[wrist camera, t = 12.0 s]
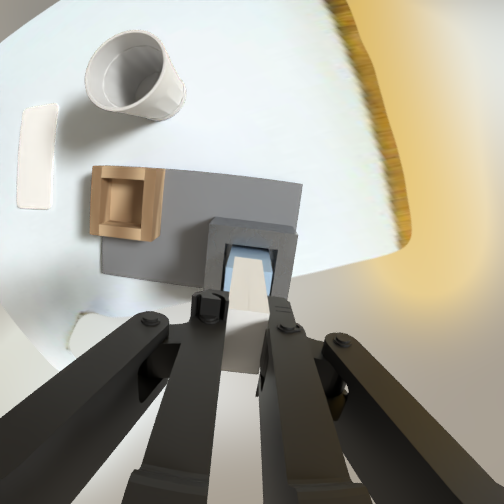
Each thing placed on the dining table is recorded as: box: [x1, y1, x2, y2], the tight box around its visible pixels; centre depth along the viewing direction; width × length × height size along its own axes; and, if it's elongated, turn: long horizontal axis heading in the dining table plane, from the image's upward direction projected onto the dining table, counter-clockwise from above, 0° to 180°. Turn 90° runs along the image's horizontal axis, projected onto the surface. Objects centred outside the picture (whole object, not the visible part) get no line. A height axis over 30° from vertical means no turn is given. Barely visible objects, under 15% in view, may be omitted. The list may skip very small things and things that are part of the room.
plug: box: [224, 244, 273, 296], centre depth 32 cm, size 4×4×10 cm
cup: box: [85, 30, 186, 121], centre depth 27 cm, size 8×8×12 cm
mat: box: [102, 166, 303, 288], centre depth 37 cm, size 24×14×1 cm, turn 83°
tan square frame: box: [90, 166, 165, 242], centre depth 34 cm, size 8×8×4 cm
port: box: [204, 217, 298, 300], centre depth 35 cm, size 9×9×5 cm
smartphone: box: [17, 103, 59, 209], centre depth 35 cm, size 7×1×15 cm
